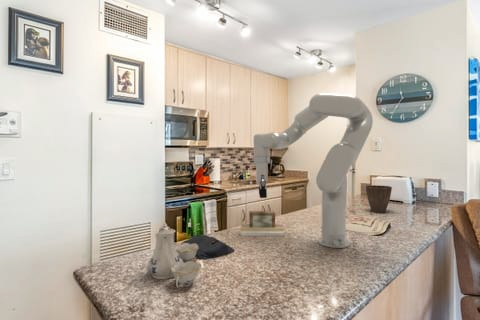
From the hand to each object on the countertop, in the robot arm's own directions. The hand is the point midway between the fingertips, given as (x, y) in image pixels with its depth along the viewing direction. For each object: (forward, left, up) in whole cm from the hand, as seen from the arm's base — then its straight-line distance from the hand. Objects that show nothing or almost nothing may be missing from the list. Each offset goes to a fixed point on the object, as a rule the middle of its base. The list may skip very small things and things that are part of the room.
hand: (262, 196), depth 134 cm
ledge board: (0, 0, -17) cm, 17 cm away
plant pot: (+46, -75, -17) cm, 89 cm away
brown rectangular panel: (0, 0, -16) cm, 16 cm away
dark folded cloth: (-23, +24, -18) cm, 37 cm away
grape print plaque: (+13, -49, -18) cm, 54 cm away
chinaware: (-45, +30, -18) cm, 57 cm away
